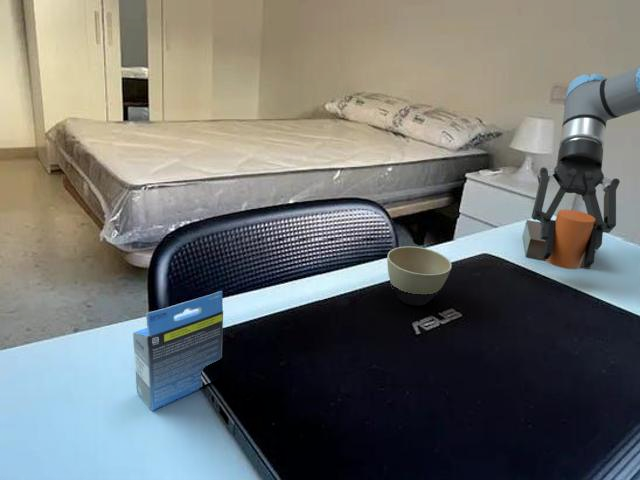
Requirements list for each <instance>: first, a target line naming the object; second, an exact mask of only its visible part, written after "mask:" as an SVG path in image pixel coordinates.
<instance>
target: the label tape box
mask: <svg viewBox="0 0 640 480" xmlns="http://www.w3.org/2000/svg"><path fill="white" fill-rule="evenodd" d="M223 309H224V308H223V290H220V291H217V292H214V293H211V294H208V295H204V296H201V297H198V298H194V299H191V300H187V301H184V302H181V303H177V304H175V305H171V306H167V307H165V308H161V309H157V310H153V311H149V312H146V313H145V319H146V327H145V328H143V329H140V330H136V331H134V332H133V333H132V339H133V353H134V369H135V384H136V393H137V395H138V396H139V397H140V398H141V400H142V401H143V402H144V403H145V405H146V406H147V408H149V410H150V411H155V410H157V409H159V407H160V408H162V407H164V406H166V405H168V404H170V403H172V402H174V401H177V400H179V399H181V398H183V397H186V396H187V395H190V394H192V393H194V392H197V391H198V390H200V389H199V388H200V387H201V372H202V370H203V369H204V368H205V367H206V366H208V365H210V364H212V363H214V362H216V361H218V360H220V359H221V358H223V331H224V329H223V328H224V310H223ZM186 310H188V311H193V312H189V313H187V314H184V312H185V311H186ZM194 310H195V311H194ZM181 314H184V315H181ZM178 315H180V316H178ZM176 316H178V317H176ZM176 399H177V400H176ZM161 406H162V407H161Z"/></svg>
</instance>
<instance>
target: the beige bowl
mask: <svg viewBox="0 0 640 480" xmlns="http://www.w3.org/2000/svg"><path fill="white" fill-rule="evenodd" d="M386 257H387V260H386V263H387V265H386V266H387V272H388V273H387V274H388V279H389V281H390V285H391V284H392V285H393V286H394V287H396V288H398V289H399V290H401V291H404V292H408V293H412V294H422V295H423V294H425V295H426V294H433V293H436V292H438V291H439V290H440V291H441V289H442V288H443V286H444V285H445V283H446V281H447V279H448V278H449V276H450V273H451V270H452V267H453V265H452V262H451V260H449V258H448V257H446V256H445V255H443V254H442V253H440V252H438V251H435V250H433V249H429V248H426V247H421V246H409V245H407V246H406V245H405V246H399V247H395V248H393V249H391V250H389V251H388V253H387V256H386ZM392 285H391V286H392ZM440 291H439V292H440ZM439 292H438V293H439Z"/></svg>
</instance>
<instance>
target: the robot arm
mask: <svg viewBox="0 0 640 480" xmlns="http://www.w3.org/2000/svg"><path fill="white" fill-rule="evenodd" d="M563 106H564V110H563V118H562V119H563V120H562V126H561V133H560V139H559V148H558V151H557V152H558V153H557V160H556V166H555V167H554V168H553V169H548V168H546V167H545V166H542V167H541V168H540V169H539V171H538V173H537V177H536V178H537V182H538V186H537V190H536V195H535V200H534V205H533V208H532V212H531V219H533V221H537V222H541V223H540V224H541V232H540V239H542V240H545V248H544V255H543V259H547V260H548V258H549V257H550V255H551V254H552V246H553V239H554V231H555V224H556V221H555V220H556V219H555V220H554V219H552V218H553V216H554V214H555V213H556V210H557V209H558V207H559V205H560V203H561V202H562V200H563V198H564V197H565V195H566V194H576V195H578V196H581V198H582V201H583V202H584V205H585V210H586V212H587V214H589V215H591V216H593V217H594V218H595V223H594V226H593V229H592V232H591V235H590V238H589V241H588V244H587V247H586V251H585V261H584V267H588V268H589V267H590V266H592V265H593V264H594V263H595V255H596V252H595V251H596V250H597V251H598V250H599V249H600V248H601V246H602V245H603V237H604V236H603V235H604V233H606V234H609V233H611V231H613V229H614V228H615V227H617V189H618V187H619V185H620V183H621V181H620V179H618V178H613V179H610V178H607V177H605V175H604V173H603V170H602V168H603V159H604V148H605V139H606V138H605V137H606V127H607V122H608V121H611V120H613V119H617V118H620V117H622V116H627V115H629V114H633V113H635V112H639V111H640V65H638V66H636V67H633V68H631V69H628V70H626V71H623V72H620V73H618V74H616V75H614V76H611V77H608V78H607V77H605V76H604V75H602V74H599V73H591V74H582V75H579V76H576V77H575V78H574V79H573V80H572V81H570V83H569V85H568V87H567V91H566V95H565V98H564V104H563ZM552 178H554V180H555V181H556V183H557V184H558V185H559V188H558V191H557V192H556V193H555V196H554V198H552V199H553V200H552V201H551V202H550V205H549V207H548V209H547V210H546V212H545V211H543V208H544V203H545V199H546V195H547V190H548V186H549V182H551V180H552ZM599 185H601V186H602V191H603V193H604V194H603V216H602V212H601V208H600V205H599V201H598V197H597V189H596V188H597V187H598V186H599ZM590 268H591V267H590Z"/></svg>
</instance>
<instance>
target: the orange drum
mask: <svg viewBox="0 0 640 480" xmlns="http://www.w3.org/2000/svg"><path fill="white" fill-rule="evenodd" d="M555 221H556V224H555V231H554V239H553V246H552V254H551V255H550V257H549V258H548V260H547V259H545V260H546V262H547V263H549V264H550V265H553V266H555V267H557V268H561V269H566V270H577V269H580V268H581V267H580V266H581V263H582V260H583V257H584V253H585V250H586V247H587V244H588V241H589V238H590V235H591V232H592V229H593V226H594V223H595V218H594V217H593V216H591V215H589V214H588V213H586V212H583V211H581V210H580V211H579V210H576V209H575V210H574V209H568V208H567V209H559V210H558V211H557V214H556V218H555ZM545 260H544V261H545Z"/></svg>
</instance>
